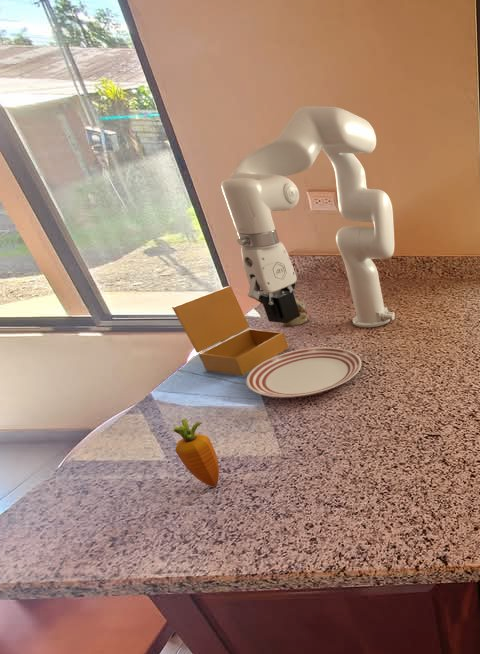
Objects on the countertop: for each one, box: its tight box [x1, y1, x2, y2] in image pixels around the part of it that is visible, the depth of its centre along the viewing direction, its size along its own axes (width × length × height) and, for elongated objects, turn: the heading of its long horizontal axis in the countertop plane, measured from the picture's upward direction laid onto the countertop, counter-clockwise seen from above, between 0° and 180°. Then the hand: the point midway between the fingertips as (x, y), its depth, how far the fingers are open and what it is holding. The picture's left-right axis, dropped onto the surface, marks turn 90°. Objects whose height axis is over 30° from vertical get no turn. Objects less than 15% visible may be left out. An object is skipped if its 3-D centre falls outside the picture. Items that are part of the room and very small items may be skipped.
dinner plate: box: [245, 346, 362, 399], centre depth 113 cm, size 28×27×3 cm
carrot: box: [172, 418, 220, 488], centre depth 76 cm, size 5×5×15 cm
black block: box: [262, 290, 300, 324], centre depth 104 cm, size 5×5×6 cm
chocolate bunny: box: [282, 298, 308, 327], centre depth 143 cm, size 6×8×10 cm
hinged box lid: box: [172, 285, 250, 353], centre depth 117 cm, size 13×17×6 cm
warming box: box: [198, 327, 289, 377], centre depth 120 cm, size 12×17×6 cm
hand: (283, 313), depth 105 cm, fingers closed on black block, 5 cm apart
